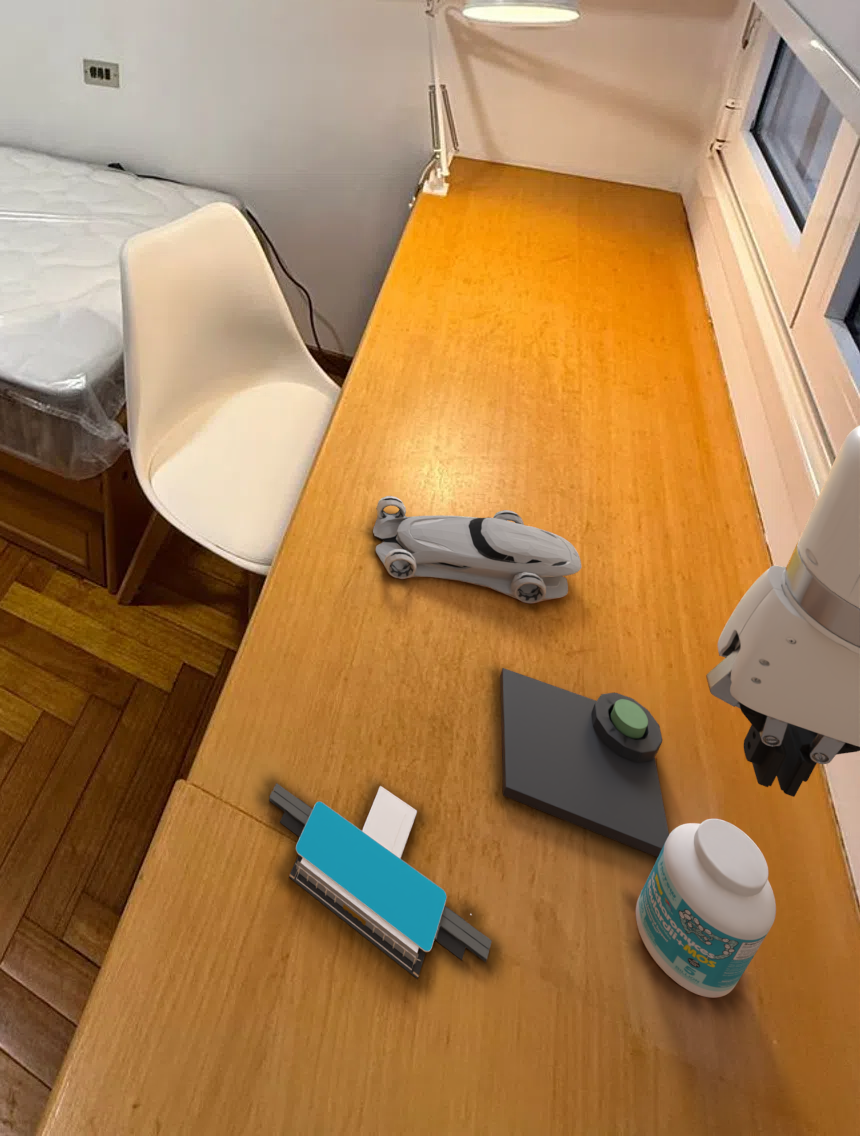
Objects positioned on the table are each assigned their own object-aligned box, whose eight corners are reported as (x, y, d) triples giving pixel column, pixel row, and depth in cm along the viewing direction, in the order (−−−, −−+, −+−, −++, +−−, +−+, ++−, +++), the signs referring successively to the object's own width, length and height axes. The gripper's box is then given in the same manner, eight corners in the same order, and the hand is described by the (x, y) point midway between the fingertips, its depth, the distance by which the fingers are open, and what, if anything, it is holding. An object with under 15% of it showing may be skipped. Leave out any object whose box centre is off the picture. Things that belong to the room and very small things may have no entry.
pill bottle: (613, 912, 73) (655, 817, 68) (673, 877, 76) (718, 783, 70) (694, 1021, 67) (748, 926, 62) (757, 979, 69) (813, 884, 64)
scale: (648, 724, 88) (655, 706, 87) (673, 864, 77) (683, 844, 75) (499, 672, 93) (505, 653, 92) (503, 795, 82) (509, 776, 80)
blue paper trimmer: (507, 878, 75) (510, 867, 75) (471, 1021, 66) (475, 1010, 66) (301, 737, 86) (303, 726, 86) (246, 843, 77) (248, 833, 77)
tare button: (641, 715, 86) (645, 705, 86) (646, 743, 84) (650, 733, 83) (608, 704, 87) (612, 694, 87) (612, 731, 85) (616, 721, 84)
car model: (369, 509, 114) (374, 481, 112) (559, 538, 110) (568, 510, 108) (379, 579, 104) (384, 549, 102) (588, 613, 100) (598, 583, 98)
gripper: (976, 590, 56) (875, 765, 63) (710, 517, 61) (644, 685, 68) (1040, 692, 50) (920, 874, 57) (737, 600, 55) (661, 777, 62)
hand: (769, 770), depth 63 cm, fingers closed
